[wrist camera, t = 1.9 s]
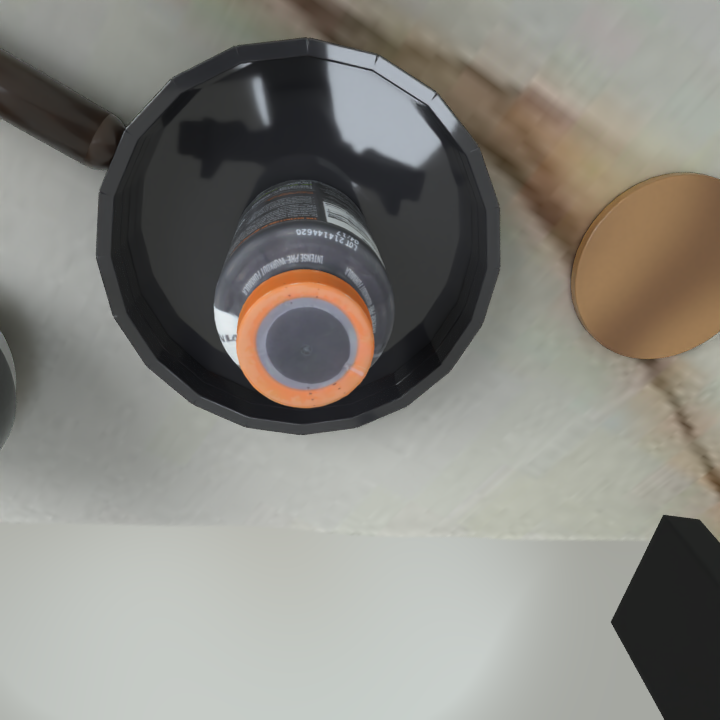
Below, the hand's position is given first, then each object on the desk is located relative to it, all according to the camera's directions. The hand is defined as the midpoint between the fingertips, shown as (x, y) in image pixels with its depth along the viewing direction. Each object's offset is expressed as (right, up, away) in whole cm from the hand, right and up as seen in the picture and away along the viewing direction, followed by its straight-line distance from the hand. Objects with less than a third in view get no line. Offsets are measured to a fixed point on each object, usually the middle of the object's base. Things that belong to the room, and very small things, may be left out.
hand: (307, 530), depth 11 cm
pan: (-2, +8, +17) cm, 19 cm away
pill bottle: (-2, +8, +17) cm, 19 cm away
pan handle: (-13, +14, +13) cm, 22 cm away
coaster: (+15, +7, +19) cm, 26 cm away
